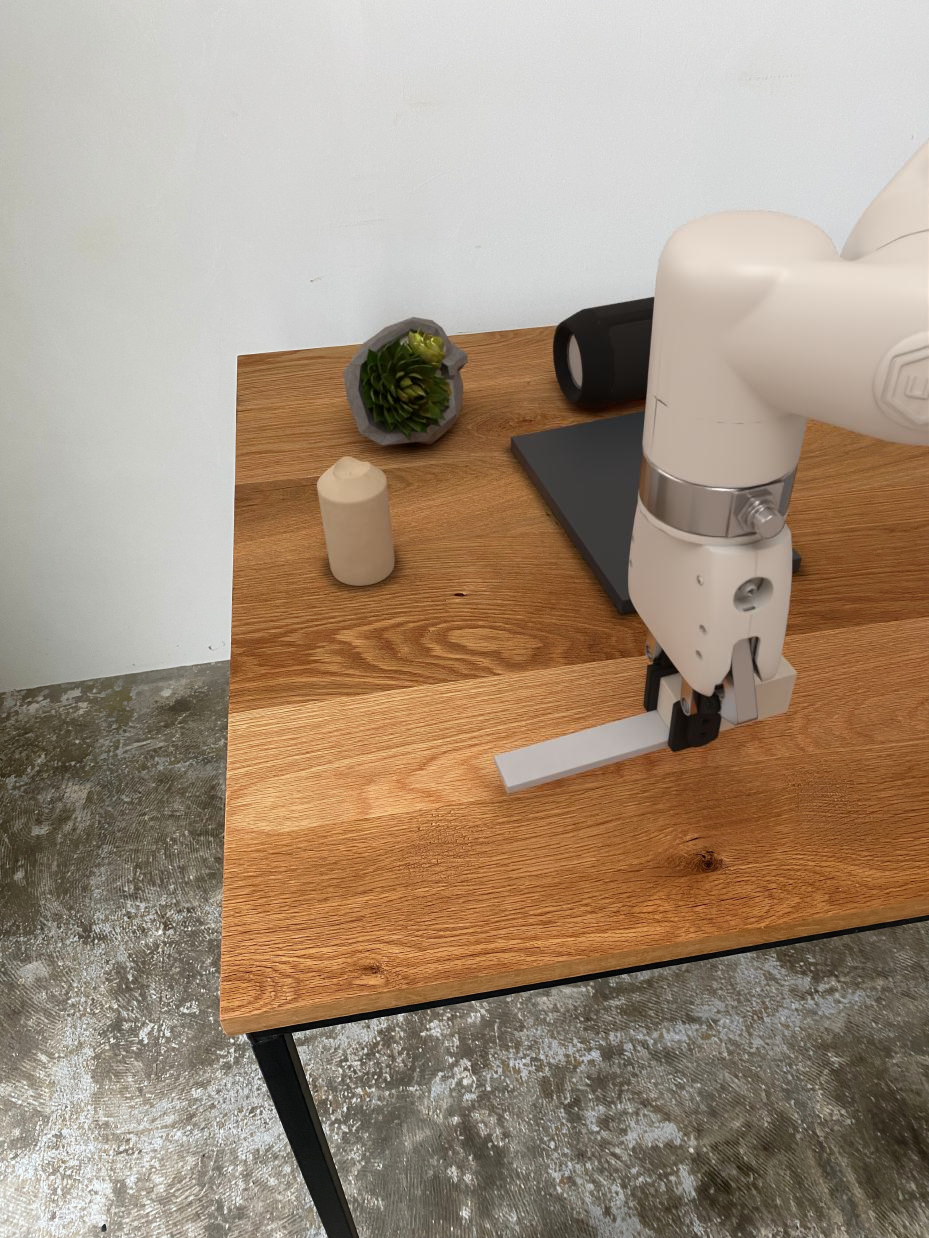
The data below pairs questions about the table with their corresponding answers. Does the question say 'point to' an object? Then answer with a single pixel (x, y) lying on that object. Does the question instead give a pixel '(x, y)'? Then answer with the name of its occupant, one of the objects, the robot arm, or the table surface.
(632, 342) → the portable speaker
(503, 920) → the table surface
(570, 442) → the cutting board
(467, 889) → the table surface
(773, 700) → the white stepped bar
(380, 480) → the candle
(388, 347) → the potted plant
